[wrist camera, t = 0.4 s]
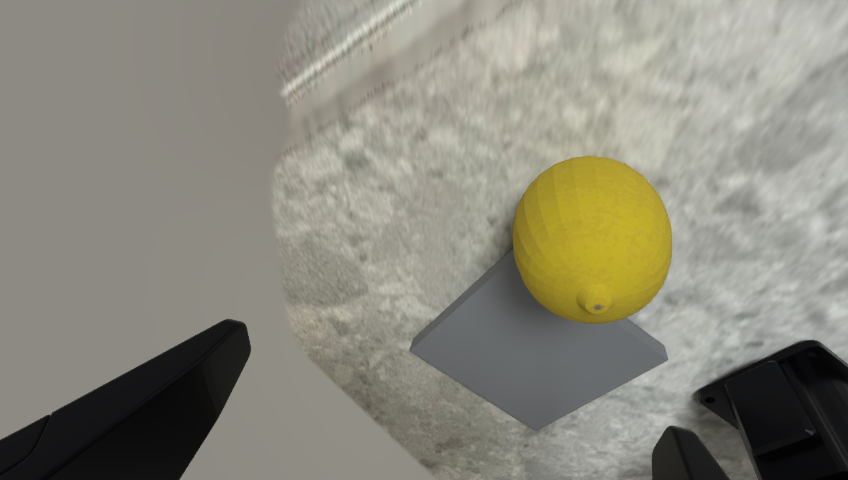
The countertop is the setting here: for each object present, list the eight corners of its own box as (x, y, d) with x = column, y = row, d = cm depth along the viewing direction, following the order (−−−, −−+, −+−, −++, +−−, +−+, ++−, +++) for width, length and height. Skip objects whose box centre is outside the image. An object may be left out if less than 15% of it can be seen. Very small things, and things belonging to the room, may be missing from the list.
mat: (664, 345, 24) (668, 359, 23) (535, 417, 30) (535, 431, 29) (520, 241, 22) (519, 252, 22) (413, 338, 28) (409, 351, 27)
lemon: (537, 248, 23) (534, 377, 16) (501, 150, 20) (481, 255, 14) (658, 222, 20) (711, 357, 14) (635, 107, 18) (686, 208, 11)
